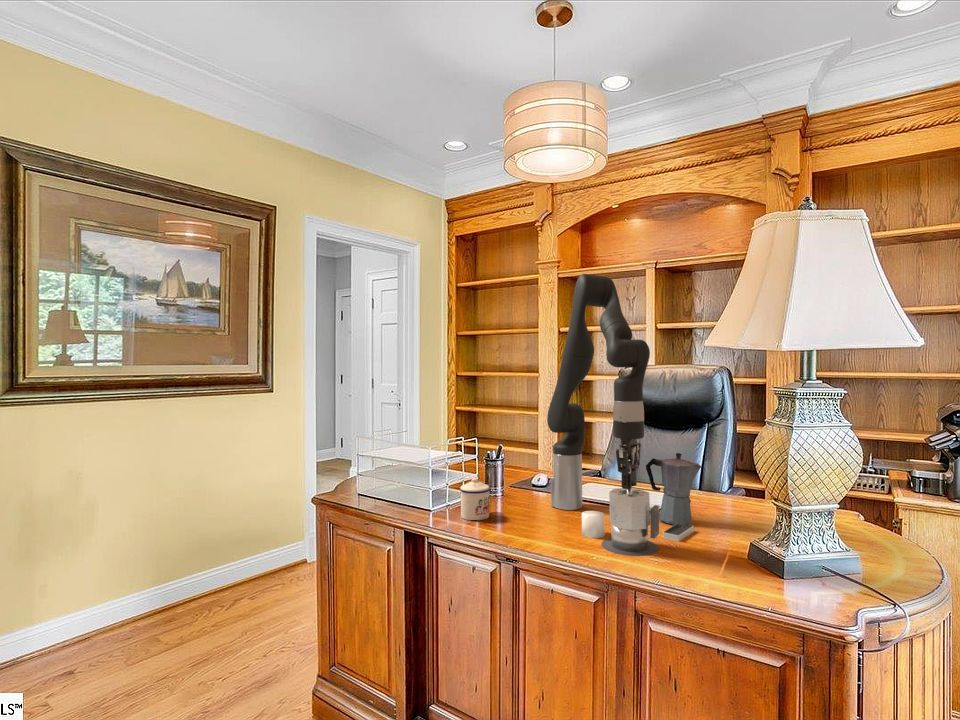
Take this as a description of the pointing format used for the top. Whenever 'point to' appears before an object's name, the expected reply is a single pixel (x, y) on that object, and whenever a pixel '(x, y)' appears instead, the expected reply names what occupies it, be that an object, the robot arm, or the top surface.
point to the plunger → (633, 477)
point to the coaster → (651, 550)
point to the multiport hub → (678, 532)
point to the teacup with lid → (475, 500)
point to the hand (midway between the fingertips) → (629, 486)
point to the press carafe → (632, 520)
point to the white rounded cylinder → (593, 524)
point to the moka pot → (675, 488)
